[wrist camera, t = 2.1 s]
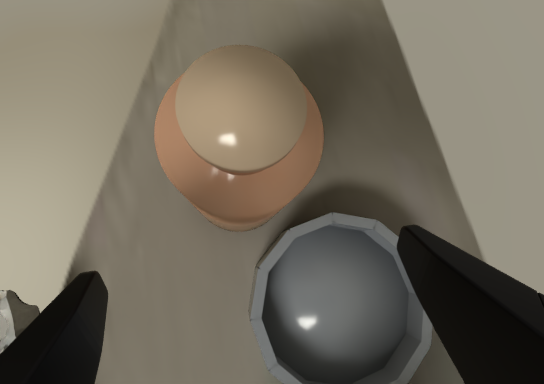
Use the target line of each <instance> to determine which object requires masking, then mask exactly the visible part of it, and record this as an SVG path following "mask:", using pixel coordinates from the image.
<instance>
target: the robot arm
mask: <svg viewBox="0 0 544 384" xmlns="http://www.w3.org/2000/svg"><path fill="white" fill-rule="evenodd" d="M397 252H398V255H399V257H400V259H401V262H402V264H403V266H404V269H405V271H406V273H407V276H408V278H409V280H410V283H411V285H412V288H413V290H414V292H415V294H416V296H417V298H418V300H419V302H420V304H421V305H422V307H423V309H424V311H425V313H426V314H427V316H428V318H429V320H430V322H431V323H432V325H433V327H434V329H435V331H436V332H437V334H438V336H439V338H440V340H441V341H442V343H443V345H444V347H445V349H446V350H447V352H448V354H449V356H450V358H451V359H452V361H453V363H454V365H455V366H456V368H457V370H458V372H459V374H460V375H461V377H462V379H463V381H464V383H465V384H544V295H543V294H541V293H537V291H536V290H534V289H532V288H530V287H528V286H526V285H525V284H523V283H521V282H519V281H517V280H515V279H514V278H512V277H510V276H508V275H507V274H505V273H503V272H501V271H499V270H497V269H495V268H494V267H492V266H490V265H488V264H487V263H485V262H483V261H481V260H479V259H478V258H476V257H474V256H472V255H470V254H469V253H467V252H465V251H463V250H461V249H459V248H458V247H456V246H454V245H452V244H450V243H449V242H447V241H445V240H443V239H441V238H440V237H438V236H436V235H434V234H432V233H430V232H429V231H427V230H425V229H423V228H421V227H420V226H418V225H408V226H403V227H402V228H401V231H400V235H399V238H398V242H397ZM107 302H108V291H107V288H106V286H105V284H104V282H103V280H102V278H101V276H100V274H99V273H98V272H97V271H89V272H83V273H80V274H79V275H78V276H77V277H76V278H75V279H74V280H73V281H72V282H71V283H70V284H69V285H68V286H67V287H66V288H65V289H64V290H63V291H62V292H61V293H60V294H59V295H58V296H57V297H56V298H55V299H54V300H53V301H52V302H51V303H50V304H49V305H48V306H47V307H46V308H45V309H44V310H43V311H42V312H41V313H40V314H39V315H38V316H37V317H36V318H35V319H34V320H33V321H32V322H31V323H30V324H29V325H28V326H27V327H26V328H25V329H24V330H23V331H22V332H21V333H20V334H19V335H18V336H17V337H16V338H15V339H14V340H13V341H12V342H11V343H10V344H9V345H8V346H7V347H6V348H5V349H4V350H3V351H2V352H1V353H0V384H95V379H96V375H97V371H98V366H99V362H100V357H101V352H102V346H103V338H104V329H105V320H106V311H107Z"/></svg>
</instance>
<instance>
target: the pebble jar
mask: <svg viewBox="0 0 544 384" xmlns="http://www.w3.org/2000/svg"><path fill="white" fill-rule="evenodd" d="M154 138H155V146H156V151H157V154H158V158H159V161H160V163H161V165H162V168H163V170H164V171H165V173H166V175H167V176H168V178H169V179H170V181H171V182H172V183H173V184H174V186H175V187H176V188H177V189H178V190H179V191H180V192H181V193H182V194H183V195H184V196H185V197H186V198H187V199H188V200H189V201H190V202H191V203H192V204H193V205H194V206H195V207H196V208H197V210H198V211H199V212H200V213H201V214H202V215H203V216H204V217H205V218H206V219H207V220H209V221H210V222H211V223H212V224H214V225H216V226H218V227H219V228H222V229H225V230H229V231H235V232H243V231H249V230H253V229H256V228H258V227H260V226H262V225H264V224H265V223H267V222H268V221H269V220H270V219H271V218H272V217H274V216H275V215H276V214H277V213H278V212H279V211H280V210H281V209H282V208H283V207H285V206H286V205H287V204H288V203H289V202H290V201H291V200H292V199H293V198H295V197H296V196H297V195H298V194H299V193H300V192H301V191H302V190H303V189H304V188H305V187H306V185H307V184H308V183H309V181H310V180H311V178H312V177H313V175H314V173H315V171H316V169H317V168H318V165H319V162H320V159H321V156H322V151H323V144H324V131H323V123H322V118H321V115H320V112H319V109H318V106H317V104H316V102H315V100H314V98H313V97H312V95H311V94H310V92H309V91H308V89H307V88H306V87H305V86H304V84H303V83H302V82H301V81H300V80H299V78H298V76H297V75H296V73H295V72H294V71H293V70H292V68H291V67H290V66H289V65H288V64H287V63H286V62H285V61H283V60H282V59H281V58H279V57H278V56H276V55H275V54H273V53H271V52H269V51H266V50H264V49H261V48H258V47H254V46H248V45H230V46H224V47H220V48H217V49H214V50H212V51H210V52H208V53H206V54H204V55H203V56H201V57H199V58H198V59H197V60H196V61H195V62H194V63H192V64H191V66H190V67H189V68H188V69H187V70H186V72H185V73H184V74H182V75H181V76H180V77H179V78H178V79H177V80H176V81H175V82H174V83H173V84H172V86H171V87H170V88H169V90H168V91H167V93H166V94H165V96H164V98H163V100H162V102H161V104H160V106H159V109H158V112H157V116H156V121H155V135H154Z"/></svg>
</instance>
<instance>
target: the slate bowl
mask: <svg viewBox="0 0 544 384" xmlns="http://www.w3.org/2000/svg"><path fill="white" fill-rule="evenodd" d="M398 238H399V237H398V236H397V235H396V234H394V233H393V232H392V231H391V230H389V229H388V228H387V227H386V226H384V225H383V224H382V223H381V222H379V221H377V220H375V219H369V218H363V217H357V216H352V215H346V214H340V213H334V212H333V213H329V214H326V215H324V216H321V217H319V218H316V219H313V220H311V221H308V222H306V223H303V224H301V225H298V226H295V227H293V228H290V229H288V230H285V231H283V232H282V233H281V234H280V236H279V237H278V238H277V239H276V241H275V242H274V243H273V244H272V246H271V247H270V248H269V249H268V251H267V252H266V253H265V255H264V256H263V257H262V258H261V260H260V261H259V262H258V263H257V266H258V267H255V273H254V279H253V285H252V292H251V298H250V304H249V310H248V311H249V317H250V321H251V324H252V327H253V330H254V333H255V335H256V338H257V341H258V344H259V347H260V349H261V352H262V355H263V358H264V360H265V363H266V366H267V369H268V370H269V372H270V373H271V374H272V375H273V376H275V377H276V378H277V379H278V380H279V381H281V382H282V383H283V384H408V383H409V381H410V379H411V378H412V376H413V374H414V373H415V371H416V370H417V368H418V366H419V365H420V363H421V361H422V360H423V358H424V357H425V355H426V353H427V352H428V350H429V348H430V347H431V346H430V345H431V341H432V323H431V322H430V320H429V318H428V316H427V314H426V313H425V311H424V309H423V307H422V305H421V304H420V302H419V300H418V298H417V296H416V294H415V292H414V290H413V288H412V285H411V283H410V280H409V278H408V276H407V273H406V271H405V269H404V266H403V264H402V262H401V259H400V257H399V255H398V252H397V242H398Z"/></svg>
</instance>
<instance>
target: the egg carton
mask: <svg viewBox="0 0 544 384" xmlns="http://www.w3.org/2000/svg"><path fill="white" fill-rule="evenodd" d="M39 314H40V311H39V308H38V307H37V306H35V305H29V304H26V303H24V302H23V301H22V300H21V299H20V298H19V297H18V295H17V294H16V293H15V292H13V291H11V290H8V291H3V290H2V291H0V353H1V352H2V351H3V350H4V349H5V348H6V347H7V346H8V345H9V344H10V343H11V342H12V341H13V340H14V339H15V338H16V337H17V336H18V335H19V334H20V333H21V332H22V331H23V330H24V329H25V328H26V327H27V326H28V325H29V324H30V323H31V322H32V321H33V320H34V319H35V318H36V317H37V316H38V315H39Z"/></svg>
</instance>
